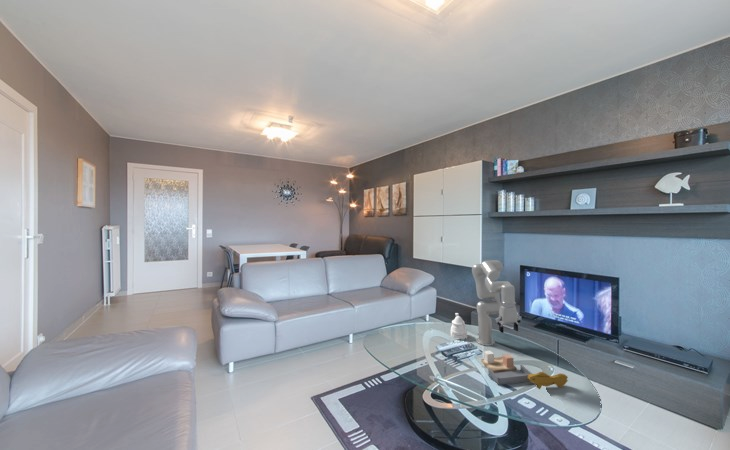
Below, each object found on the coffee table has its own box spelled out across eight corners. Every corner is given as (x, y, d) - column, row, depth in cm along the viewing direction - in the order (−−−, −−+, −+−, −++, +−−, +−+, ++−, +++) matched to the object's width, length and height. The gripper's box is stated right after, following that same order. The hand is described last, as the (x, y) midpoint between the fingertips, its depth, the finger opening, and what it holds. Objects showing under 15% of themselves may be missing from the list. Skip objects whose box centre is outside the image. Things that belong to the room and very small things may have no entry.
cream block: (484, 359, 194) (483, 351, 194) (490, 359, 195) (490, 350, 194) (487, 363, 190) (487, 354, 189) (494, 362, 190) (493, 353, 190)
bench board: (481, 361, 195) (481, 359, 195) (503, 359, 197) (503, 356, 197) (492, 373, 182) (492, 370, 181) (516, 370, 183) (516, 367, 183)
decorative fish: (528, 387, 164) (532, 370, 164) (525, 384, 167) (528, 367, 167) (566, 393, 165) (569, 376, 165) (562, 390, 168) (565, 373, 168)
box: (488, 374, 181) (488, 368, 181) (521, 370, 183) (521, 364, 183) (498, 385, 170) (498, 378, 170) (533, 381, 172) (533, 374, 172)
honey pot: (447, 334, 240) (446, 312, 239) (460, 331, 243) (460, 310, 242) (456, 340, 227) (456, 318, 226) (470, 337, 231) (470, 315, 230)
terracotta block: (502, 363, 188) (502, 354, 188) (509, 363, 189) (509, 354, 188) (506, 367, 184) (506, 358, 183) (513, 366, 184) (513, 357, 184)
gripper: (517, 301, 186) (517, 327, 187) (491, 303, 184) (492, 330, 185) (524, 305, 178) (525, 332, 179) (498, 307, 176) (499, 335, 177)
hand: (508, 331), depth 182 cm, fingers open, 9 cm apart
